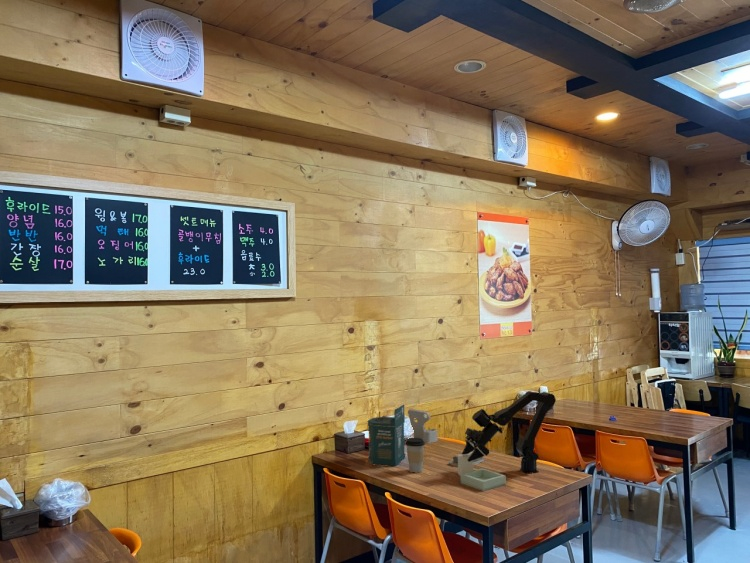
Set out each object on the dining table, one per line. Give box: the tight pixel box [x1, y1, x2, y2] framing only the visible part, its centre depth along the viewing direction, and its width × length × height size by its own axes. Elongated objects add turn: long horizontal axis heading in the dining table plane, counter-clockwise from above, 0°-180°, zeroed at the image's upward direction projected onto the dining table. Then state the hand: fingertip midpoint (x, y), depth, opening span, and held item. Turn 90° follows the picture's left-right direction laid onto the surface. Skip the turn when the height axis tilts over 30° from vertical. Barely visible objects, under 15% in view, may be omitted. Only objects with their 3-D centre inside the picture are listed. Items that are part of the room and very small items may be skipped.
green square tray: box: [459, 467, 507, 492], centre depth 252 cm, size 14×14×4 cm
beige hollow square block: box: [457, 453, 474, 477], centre depth 265 cm, size 6×6×9 cm
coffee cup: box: [404, 438, 426, 474], centre depth 273 cm, size 9×9×15 cm
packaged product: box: [448, 450, 487, 467], centre depth 286 cm, size 18×5×10 cm
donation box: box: [367, 404, 406, 467], centre depth 291 cm, size 16×16×28 cm
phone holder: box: [407, 408, 439, 444], centre depth 335 cm, size 17×10×18 cm, turn 43°
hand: (465, 458), depth 265 cm, fingers open, 9 cm apart
